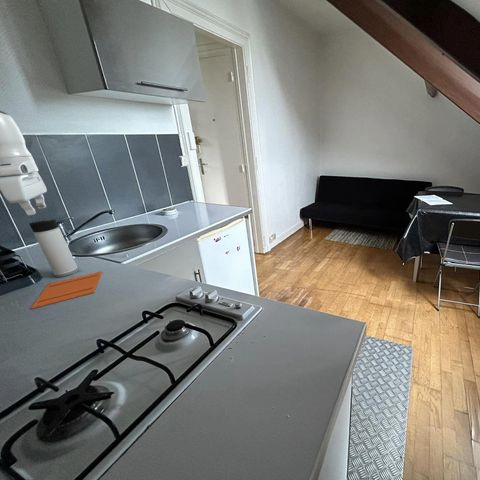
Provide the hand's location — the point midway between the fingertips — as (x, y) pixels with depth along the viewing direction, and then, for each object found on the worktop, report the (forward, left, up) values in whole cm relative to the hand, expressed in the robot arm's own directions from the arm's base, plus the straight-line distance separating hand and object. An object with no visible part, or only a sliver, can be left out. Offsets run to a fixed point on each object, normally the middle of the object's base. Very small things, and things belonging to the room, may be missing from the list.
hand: (37, 211), depth 84 cm
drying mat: (+4, -15, -23) cm, 28 cm away
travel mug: (0, 0, -23) cm, 23 cm away
